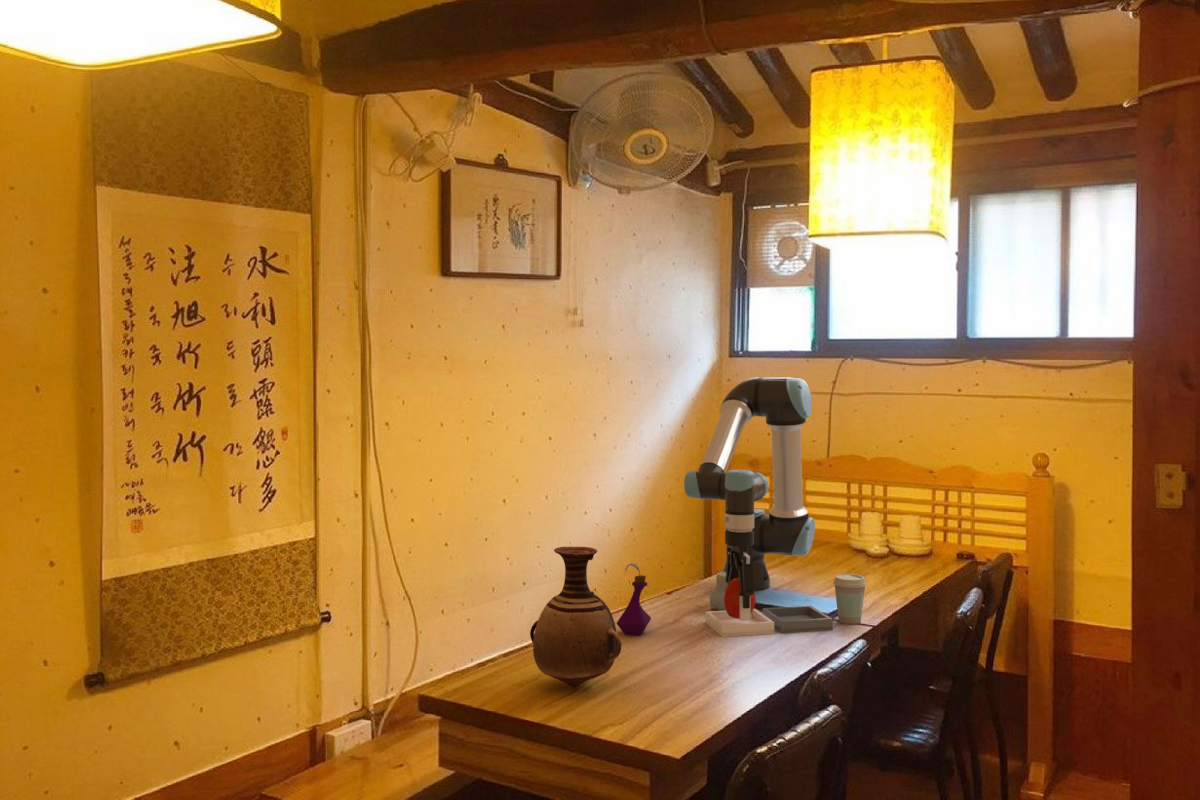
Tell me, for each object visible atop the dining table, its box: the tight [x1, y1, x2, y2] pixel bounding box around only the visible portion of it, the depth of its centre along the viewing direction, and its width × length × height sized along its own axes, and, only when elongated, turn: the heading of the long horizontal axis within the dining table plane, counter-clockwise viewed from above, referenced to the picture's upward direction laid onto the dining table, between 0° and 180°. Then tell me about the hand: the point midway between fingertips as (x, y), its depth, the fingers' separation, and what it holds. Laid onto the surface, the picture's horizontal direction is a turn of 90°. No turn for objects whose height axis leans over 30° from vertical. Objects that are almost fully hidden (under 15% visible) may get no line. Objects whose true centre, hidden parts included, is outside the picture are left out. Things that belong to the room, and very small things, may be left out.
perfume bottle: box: [616, 562, 652, 637], centre depth 264 cm, size 8×8×18 cm
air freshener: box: [709, 571, 728, 611], centre depth 288 cm, size 11×8×10 cm
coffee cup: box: [833, 573, 867, 625], centre depth 275 cm, size 8×9×12 cm
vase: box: [529, 546, 622, 688], centre depth 222 cm, size 21×18×30 cm
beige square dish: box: [704, 608, 775, 638], centre depth 269 cm, size 14×14×3 cm
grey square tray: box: [761, 605, 834, 634], centre depth 272 cm, size 14×14×3 cm
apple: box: [724, 578, 757, 619], centre depth 268 cm, size 8×8×11 cm
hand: (739, 615), depth 269 cm, fingers closed on apple, 8 cm apart
